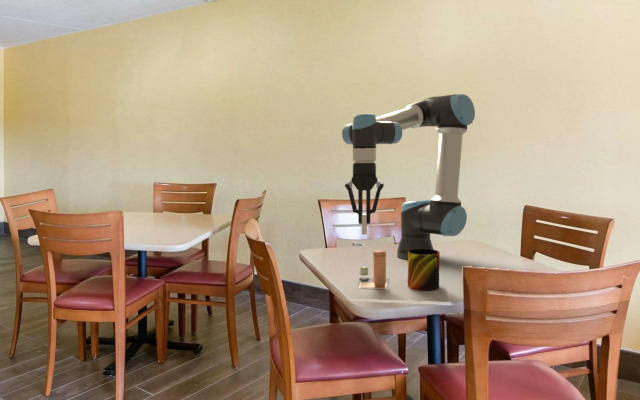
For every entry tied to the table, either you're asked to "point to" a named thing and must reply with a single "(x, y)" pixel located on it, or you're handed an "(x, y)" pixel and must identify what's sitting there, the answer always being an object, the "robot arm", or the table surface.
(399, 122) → the robot arm
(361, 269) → the button
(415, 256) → the mug
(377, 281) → the orange tall block
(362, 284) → the clipboard
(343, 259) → the table surface
